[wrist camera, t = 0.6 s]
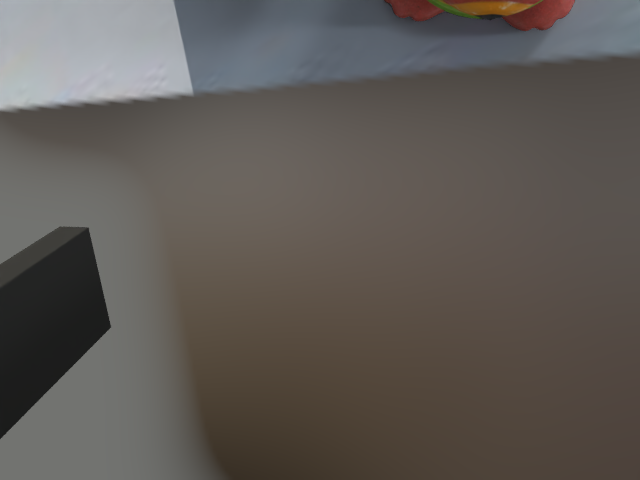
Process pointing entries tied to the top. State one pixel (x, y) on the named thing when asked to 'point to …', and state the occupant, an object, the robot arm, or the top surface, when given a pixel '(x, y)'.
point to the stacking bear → (489, 10)
